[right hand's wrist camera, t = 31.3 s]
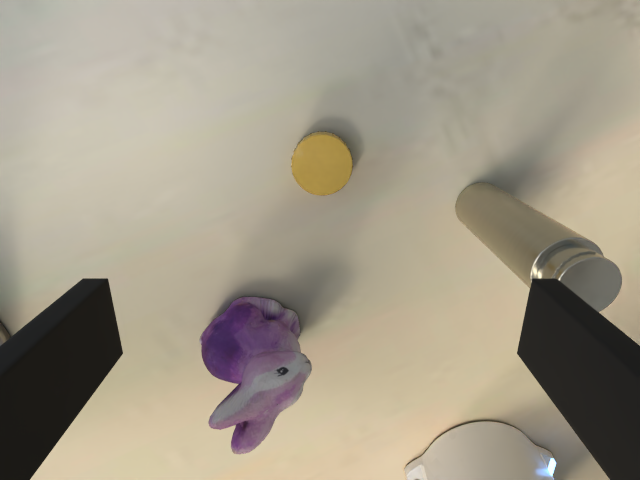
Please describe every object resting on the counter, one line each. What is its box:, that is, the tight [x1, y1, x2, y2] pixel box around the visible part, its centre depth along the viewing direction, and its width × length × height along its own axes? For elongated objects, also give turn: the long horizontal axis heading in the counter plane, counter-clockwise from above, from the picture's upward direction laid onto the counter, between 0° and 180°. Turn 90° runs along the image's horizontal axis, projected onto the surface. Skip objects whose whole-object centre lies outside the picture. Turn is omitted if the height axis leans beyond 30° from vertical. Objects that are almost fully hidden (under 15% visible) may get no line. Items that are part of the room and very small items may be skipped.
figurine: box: [200, 297, 312, 454], centre depth 39 cm, size 9×10×15 cm
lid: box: [291, 131, 353, 195], centre depth 38 cm, size 6×6×2 cm
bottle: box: [455, 182, 622, 312], centre depth 33 cm, size 5×5×18 cm
